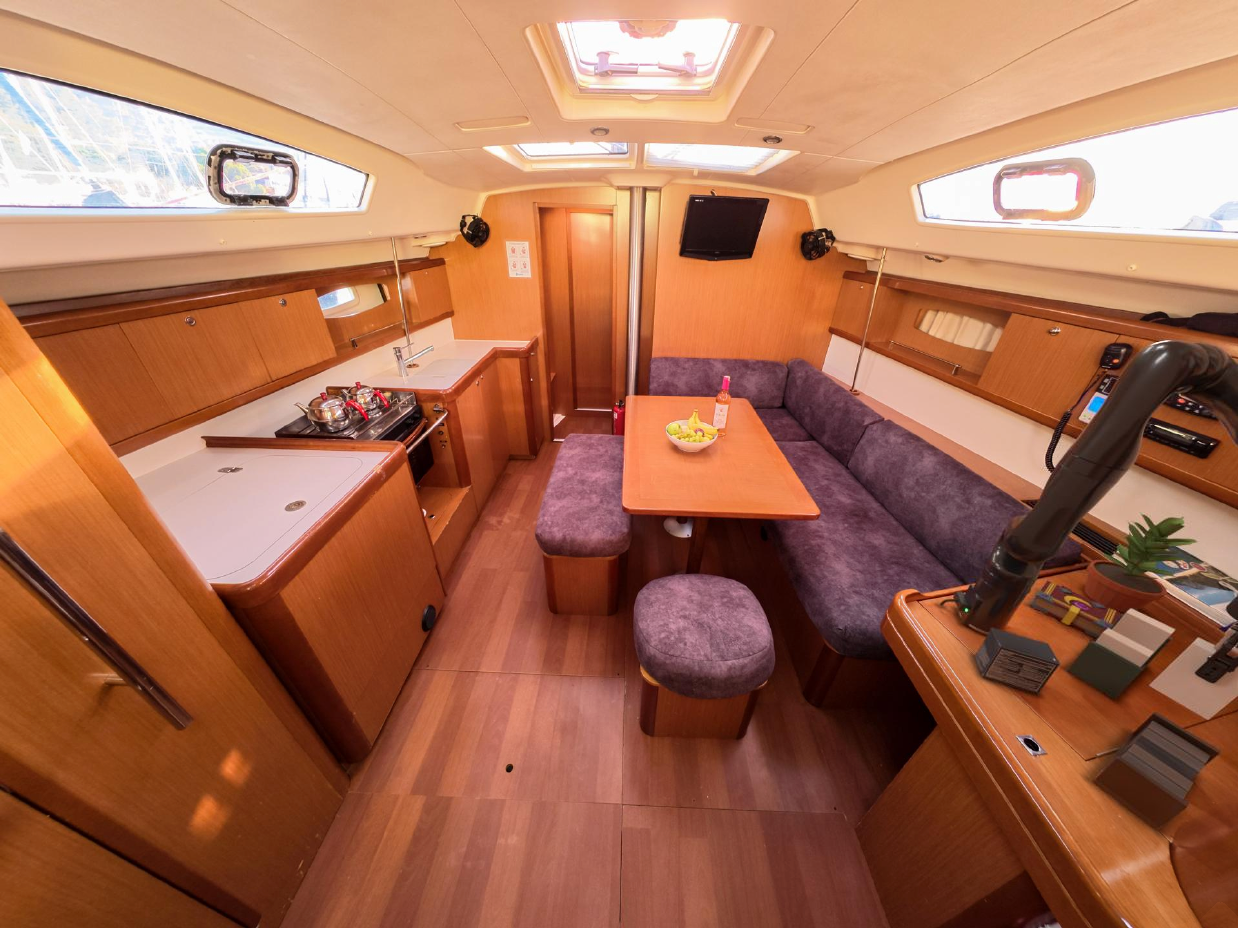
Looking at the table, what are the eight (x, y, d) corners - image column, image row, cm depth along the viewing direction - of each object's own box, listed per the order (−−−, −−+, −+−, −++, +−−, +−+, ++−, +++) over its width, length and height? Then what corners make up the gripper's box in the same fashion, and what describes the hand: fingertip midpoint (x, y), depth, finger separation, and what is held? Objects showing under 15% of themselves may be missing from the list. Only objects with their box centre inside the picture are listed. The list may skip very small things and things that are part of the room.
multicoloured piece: (1114, 699, 89) (1150, 661, 83) (1067, 670, 96) (1097, 632, 90) (1145, 666, 97) (1180, 629, 91) (1100, 641, 104) (1129, 604, 98)
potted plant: (1122, 588, 122) (1187, 505, 108) (1161, 625, 109) (1241, 536, 95) (1060, 575, 126) (1115, 494, 113) (1091, 609, 113) (1157, 523, 100)
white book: (1207, 720, 70) (1260, 676, 64) (1148, 685, 76) (1192, 642, 70) (1213, 713, 71) (1265, 669, 66) (1154, 679, 77) (1198, 637, 71)
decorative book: (1039, 590, 120) (1048, 577, 118) (1118, 627, 108) (1129, 613, 106) (1028, 606, 114) (1037, 593, 112) (1110, 646, 102) (1122, 633, 100)
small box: (1026, 672, 95) (1049, 642, 90) (1038, 696, 90) (1063, 665, 85) (972, 655, 99) (991, 625, 94) (980, 677, 93) (1001, 646, 89)
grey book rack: (1156, 830, 68) (1187, 806, 65) (1092, 781, 75) (1117, 757, 71) (1192, 774, 76) (1221, 750, 73) (1131, 734, 83) (1155, 711, 79)
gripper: (1257, 575, 68) (1187, 644, 76) (1232, 600, 62) (1160, 671, 70) (1339, 607, 62) (1254, 677, 70) (1320, 637, 56) (1230, 710, 64)
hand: (1207, 674), depth 70 cm, fingers closed on white book, 3 cm apart
